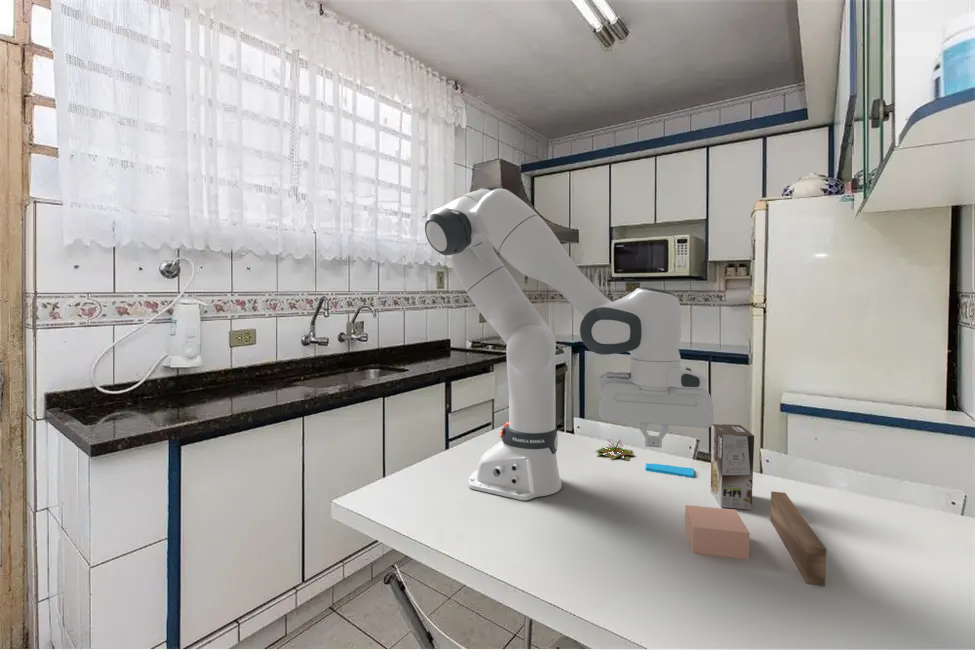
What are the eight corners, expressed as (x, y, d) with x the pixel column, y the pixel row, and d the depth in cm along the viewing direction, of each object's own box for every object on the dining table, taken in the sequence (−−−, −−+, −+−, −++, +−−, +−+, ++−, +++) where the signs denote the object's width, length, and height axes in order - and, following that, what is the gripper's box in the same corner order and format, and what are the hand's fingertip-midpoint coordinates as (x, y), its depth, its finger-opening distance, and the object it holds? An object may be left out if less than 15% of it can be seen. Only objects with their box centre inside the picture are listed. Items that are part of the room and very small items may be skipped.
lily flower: (639, 451, 139) (639, 436, 139) (634, 465, 128) (634, 448, 128) (598, 446, 144) (598, 432, 144) (589, 459, 133) (589, 443, 133)
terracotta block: (692, 554, 84) (693, 526, 84) (684, 529, 93) (685, 504, 92) (748, 560, 82) (749, 532, 82) (735, 535, 91) (735, 509, 90)
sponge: (647, 461, 129) (644, 465, 123) (695, 468, 123) (694, 473, 118) (646, 466, 128) (643, 471, 123) (695, 474, 123) (693, 479, 118)
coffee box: (753, 510, 100) (755, 435, 99) (720, 507, 102) (722, 434, 101) (739, 492, 109) (741, 424, 108) (709, 490, 111) (711, 422, 110)
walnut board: (806, 583, 75) (807, 546, 75) (770, 520, 96) (771, 491, 96) (824, 585, 74) (826, 549, 74) (784, 521, 95) (785, 492, 95)
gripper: (596, 373, 89) (595, 446, 90) (716, 379, 83) (714, 457, 84) (599, 368, 95) (598, 436, 96) (711, 373, 89) (709, 446, 90)
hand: (653, 446), depth 90 cm, fingers closed
